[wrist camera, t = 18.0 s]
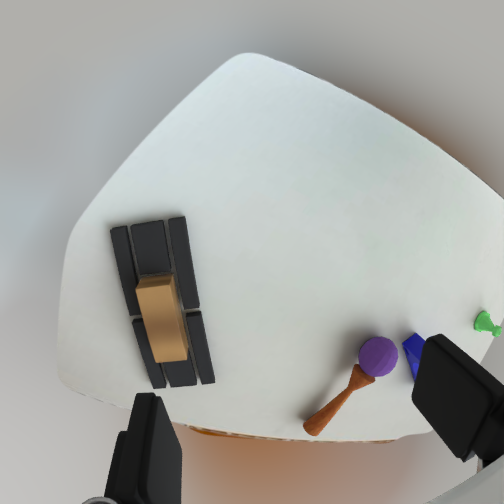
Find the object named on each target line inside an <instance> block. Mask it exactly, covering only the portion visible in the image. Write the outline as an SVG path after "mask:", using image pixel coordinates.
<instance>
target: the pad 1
mask: <svg viewBox="0 0 504 504" xmlns="http://www.w3.org/2000/svg"><path fill="white" fill-rule="evenodd" d="M168 224H169V230H170V236H171V242H172V248H173V254H174V260H175V265H176V271H177V276H178V281H179V286H180V291H181V296H182V301H183V306H184V310H185V309H193V308H199V306H200V303H199V297H198V292H197V286H196V281H195V275H194V269H193V263H192V257H191V251H190V245H189V238H188V232H187V225H186V218H185V217H178V218H172V219H169V220H168ZM110 233H111V238H112V243H113V248H114V253H115V258H116V262H117V267H118V271H119V275H120V279H121V283H122V288H123V291H124V295H125V299H126V303H127V307H128V310H129V314H130V316H131V315H141V314H142V313H141V310H140V306H139V302H138V298H137V294H136V290H135V289H136V287H137V285H138V284H139V282H138V278H137V274H136V269H135V264H134V260H133V255H132V250H131V245H130V240H129V234H128V229H127V226H121V227H115V228H112V229H111V230H110ZM131 233H132V238H133V243H134V249H135V254H136V258H137V263H138V268H139V273H140V275H144V274H152V273H159V272H167V271H171V268H172V267H171V262H170V257H169V251H168V245H167V239H166V233H165V227H164V221H163V220H159V221H152V222H146V223H140V224H133V225H132V226H131Z"/></svg>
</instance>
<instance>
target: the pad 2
mask: <svg viewBox="0 0 504 504" xmlns="http://www.w3.org/2000/svg"><path fill="white" fill-rule="evenodd" d="M186 320H187V325H188V329H189V334H190V338H191V342H192V347H193V351H194V355H195V359H196V363H197V367H198V371H199V375H200V379H201V383H202V385H203V384H211V383H215V377H214V372H213V367H212V363H211V358H210V353H209V349H208V344H207V339H206V334H205V329H204V324H203V319H202V314H201V311H198V312H190V313H186ZM132 325H133V328H134V332H135V335H136V338H137V342H138V345H139V348H140V351H141V354H142V357H143V360H144V363H145V366H146V369H147V372H148V375H149V378H150V381H151V383H152V386H153V389H159V388H166V384H167V383H166V380H165V376H164V373H163V370H162V367H161V364H160V363H156V362H155V358H154V355H153V352H152V349H151V345H150V342H149V339H148V335H147V332H146V328H145V324H144V321H143V318H137V319H134V320H133V322H132ZM163 364H164V368H165V371H166V374H167V377H168V380H169V383H170V387H171V388H172V387H183V386H193V385H197V379H196V375H195V371H194V367H193V363H192V359H191V355H190V351H189V347H188V354H187V360H181V361H171V362H163Z"/></svg>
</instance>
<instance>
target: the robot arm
mask: <svg viewBox="0 0 504 504" xmlns="http://www.w3.org/2000/svg"><path fill="white" fill-rule="evenodd" d="M412 401H413V403H414V405H415V406H416V407H417V408H418V410H419V411H420V412H421V413H422V415H423V416H424V417H425V418H426V420H427V421H428V422H429V423H430V425H431V426H432V427H433V429H434V430H435V431H436V432H437V434H438V435H439V436H440V437H441V438H442V440H443V441H444V443H445V444H446V445H447V446H448V448H449V449H450V450H451V451H452V453H453V454H454V455H455V456H456V457H457V458H461V460H462V461H463V462H466V461H467V460H469V459H470V458H472V457H474V455H475V454H476V455H477V456H478V465H477V474H475V475H474V476H472V477H471V478H469V479H467V480H466V481H464V482H463V483H461V484H460V485H458V486H456V487H454V488H453V489H451V490H450V491H448V492H446V493H444V494H442V495H440V496H438V497H437V498H435V499H433V500H431V501H429V502H427V503H425V504H504V385H503V384H502V383H500V382H499V381H498V380H497V379H496V378H495V377H494V376H492V375H491V374H490V373H489V372H488V371H487V370H485V369H484V368H483V367H482V366H481V365H479V364H478V363H477V362H476V361H475V360H474V359H472V358H471V357H470V356H469V355H468V354H466V353H465V352H464V351H463V350H461V349H460V348H459V347H458V346H457V345H455V344H454V343H453V342H452V341H450V340H449V339H448V338H447V337H445V336H444V335H443V334H437V335H434V336H432V337H429V338H427V340H426V342H425V343H424V344H423V348H422V353H421V358H420V362H419V367H418V371H417V376H416V380H415V384H414V388H413V392H412ZM181 477H182V449H181V446H180V443H179V441H178V438H177V436H176V434H175V431H174V429H173V426H172V424H171V421H170V419H169V416H168V414H167V411H166V409H165V406H164V403H163V401H162V398H161V397H160V396H156V395H155V394H154V393H153V392H152V393H137V394H136V396H135V400H134V404H133V408H132V412H131V417H130V421H129V425H128V429H127V431H121V432H119V434H118V437H117V441H116V445H115V449H114V453H113V458H112V462H111V466H110V471H109V475H108V479H107V484H106V489H105V494H104V497H93V498H91V499H88V500H86V501H85V502H83V503H82V504H181Z"/></svg>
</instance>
